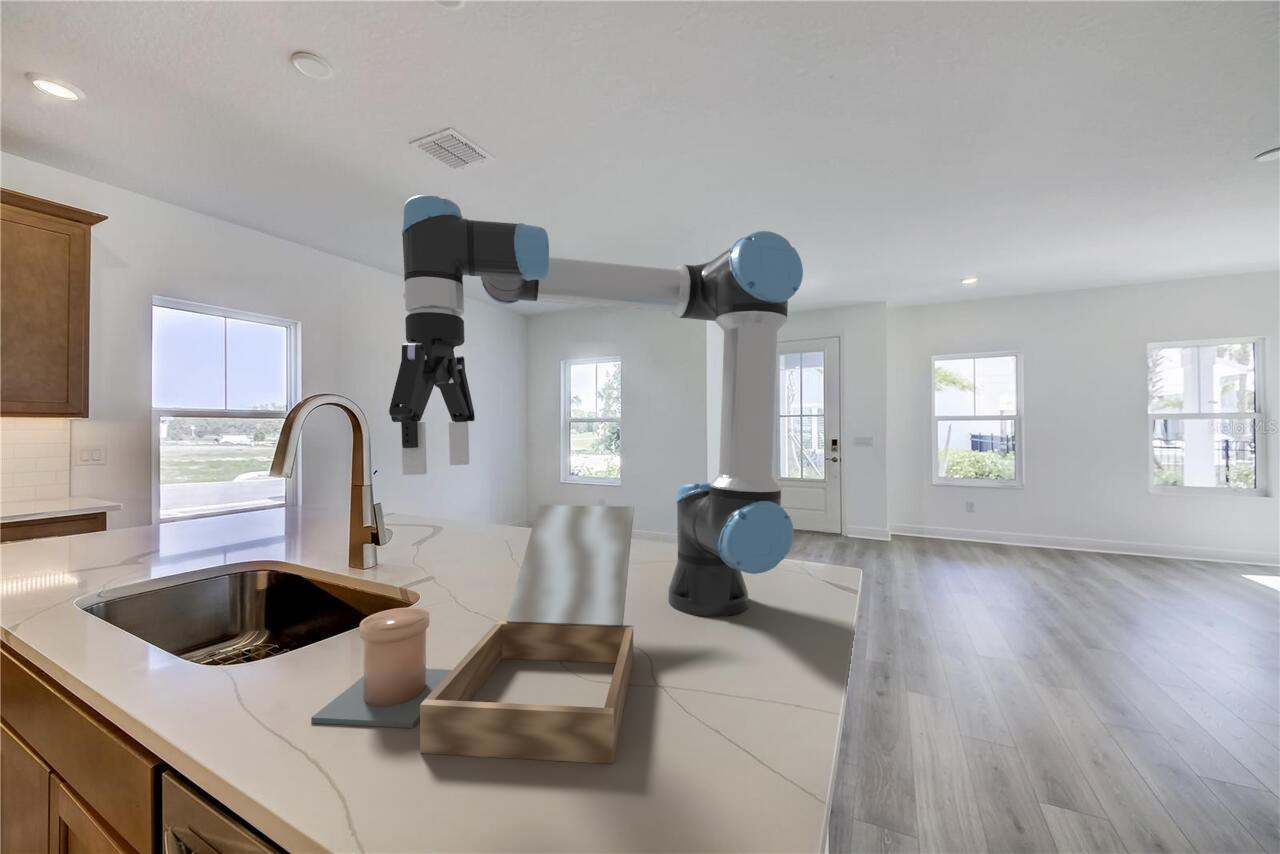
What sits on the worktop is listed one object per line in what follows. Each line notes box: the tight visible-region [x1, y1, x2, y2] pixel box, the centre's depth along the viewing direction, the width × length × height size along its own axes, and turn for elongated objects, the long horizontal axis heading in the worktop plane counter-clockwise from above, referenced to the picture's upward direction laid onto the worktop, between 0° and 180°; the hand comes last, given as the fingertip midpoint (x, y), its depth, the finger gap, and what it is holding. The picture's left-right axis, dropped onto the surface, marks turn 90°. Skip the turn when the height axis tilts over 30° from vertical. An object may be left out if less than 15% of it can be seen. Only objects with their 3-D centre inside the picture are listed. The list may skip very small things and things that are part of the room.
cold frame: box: [419, 504, 635, 765], centre depth 70 cm, size 20×39×20 cm, turn 175°
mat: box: [310, 668, 453, 729], centre depth 62 cm, size 12×12×1 cm
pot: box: [359, 607, 430, 707], centre depth 62 cm, size 8×8×9 cm
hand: (439, 469), depth 69 cm, fingers open, 13 cm apart
